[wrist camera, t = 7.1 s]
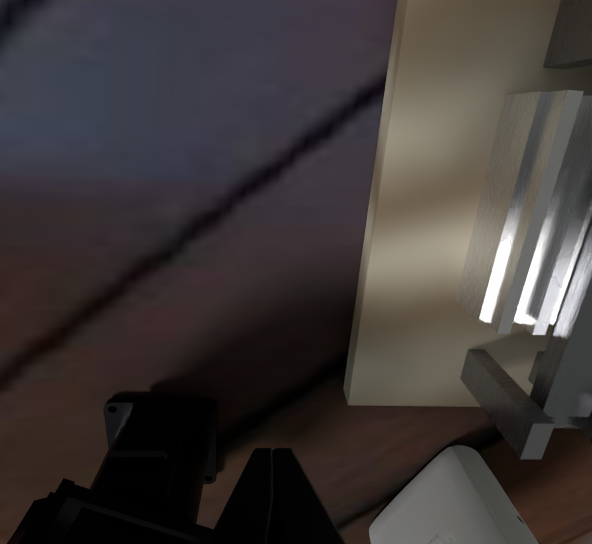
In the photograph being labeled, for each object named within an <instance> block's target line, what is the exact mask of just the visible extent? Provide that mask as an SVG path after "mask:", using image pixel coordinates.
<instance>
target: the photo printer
mask: <svg viewBox="0 0 592 544" xmlns="http://www.w3.org/2000/svg"><path fill="white" fill-rule="evenodd" d="M369 534H370V540H371V544H538V542H537V541H536V539H535V537H534V536H533V534H532V533H531V531H530V530H529V528H528V527H527V525H526V524H525V522H524V521H523V519H522V518H521V516H520V515H519V513H518V512H517V510H516V509H515V507H514V506H513V504H512V502H511V501H510V499H509V498H508V496H507V495H506V493H505V492H504V490H503V488H502V487H501V485H500V484H499V482H498V481H497V479H496V478H495V476H494V475H493V473H492V472H491V470H490V469H489V468H488V466H487V465H486V463H485V462H484V460H483V459H482V457H481V456H480V454H479V453H478V452H477V451H476V450H474V449H473V448H470V447H468V446H463V445H454V446H452V447H448V448H446V449H445V450H444V451H442V452H441V453H440V454H439V455H438V456H436V457H435V458H434V459H433V460H432V461H431V462H430V463H429V464H428V465H427V466H426V467H425V468H424V469H423V470H422V471H421V472H420V473H419V474H418V475H417V476H416V477H415V478H414V479H413V480H412V481H411V482H410V483H409V484H408V485H407V486H406V487H405V488H404V489H403V490H402V491H401V492H400V493H399V494H398V495H397V496H396V497H395V498H394V499H393V500H392V501H391V502H390V503H389V504H388V506H387V507H386V508H385V509H384V510H383V511H382V512H381V513H380V514H379V516H378V517H377V518H376V519H375V520H374V522H373V523H372V524H371V526H370V529H369Z"/></svg>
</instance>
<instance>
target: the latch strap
mask: <svg viewBox="0 0 592 544" xmlns="http://www.w3.org/2000/svg"><path fill="white" fill-rule="evenodd" d="M529 397H530V398H531V399H532V400H533V401H534V402H535V403H536V404H537V405H538V406H539V407H540V408H541V409H542V410H543V411H544V412H545V413H546V415H547V416H548V417H549V418H550V419H551V420H552V421H553V422H554V423H555V426H554V428H585V427H587V425H588V423H589V416H590V413H591V411H592V216H591V219H590V222H589V224H588V227H587V230H586V233H585V236H584V239H583V242H582V245H581V248H580V251H579V254H578V256H577V259H576V262H575V265H574V268H573V271H572V274H571V277H570V280H569V283H568V286H567V289H566V291H565V294H564V297H563V300H562V303H561V306H560V309H559V312H558V315H557V318H556V321H555V323H554V326H553V329H552V332H551V335H550V338H549V341H548V344H547V347H546V350H545V353H544V356H543V358H542V361H541V364H540V367H539V370H538V373H537V376H536V379H535V382H534V385H533V388H532V390H531V393H530V396H529Z"/></svg>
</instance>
